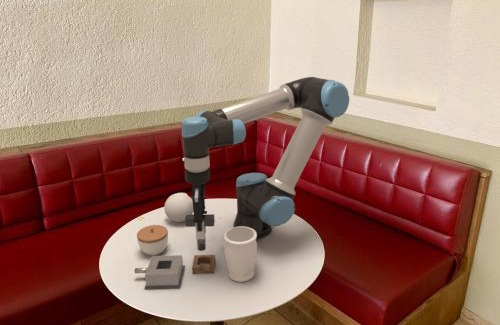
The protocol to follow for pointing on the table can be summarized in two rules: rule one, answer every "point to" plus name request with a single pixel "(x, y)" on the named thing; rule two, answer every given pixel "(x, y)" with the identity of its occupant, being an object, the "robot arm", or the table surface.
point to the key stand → (203, 268)
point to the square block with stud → (163, 272)
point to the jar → (240, 252)
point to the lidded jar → (153, 239)
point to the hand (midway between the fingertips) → (201, 235)
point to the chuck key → (207, 222)
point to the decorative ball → (178, 207)
